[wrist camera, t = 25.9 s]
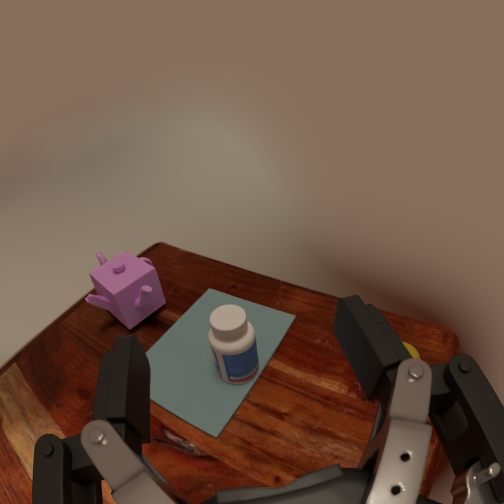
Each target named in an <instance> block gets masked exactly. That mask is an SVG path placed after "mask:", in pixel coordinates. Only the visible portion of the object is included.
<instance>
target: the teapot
mask: <svg viewBox="0 0 504 504" xmlns="http://www.w3.org/2000/svg"><path fill="white" fill-rule="evenodd" d="M96 256H97V258H98V260H99V262H100V264H101V266H99V267H98V268H96V269H95V270H93V271H91V272H90V273H89V275H90V277H91V279H92V282H93V283H94V286H95V288H96V291H97V293H98V295H91V294H89V296H88V297H87V298H86V299H85V300H86V301H87V302H88V303H90V304H93V305H95V306H98V307H101V308H103V309H106V310H108V311H110V312H111V313H112V314H113V315H114V316H115V317H116V318H117V319H118V320H119V321H121V322H122V323H123V324H124V325H125V326H126V327H127V328H128V329H131V328H133V327H135V326H136V325H137V324H138V323H140V322H141V321H142V320H144V319H145V318H146V317H148V316H149V315H150V314H152V313H153V312H154V311H156V310H157V309H158V308H160V307H161V306H162V305H164V304H165V303H166V301H165V298H164V295H163V291H162V288H161V285H160V282H159V279H158V276H157V272H156V269H155V268H154V267H153V265H152V262H151V261H150V260H149V259H148V258H145V257H141V258H137V257H135V256H134V255H132V254H130V253H128V252H126V251H124V252H123V253H121V254H119V255H118V256H116V257H114V258H112V259H111V260H109V261H107V260H106V258H105V257H104V256H103V254H101V253H99V252H98V253H96ZM146 262H147V263H146Z"/></svg>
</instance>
